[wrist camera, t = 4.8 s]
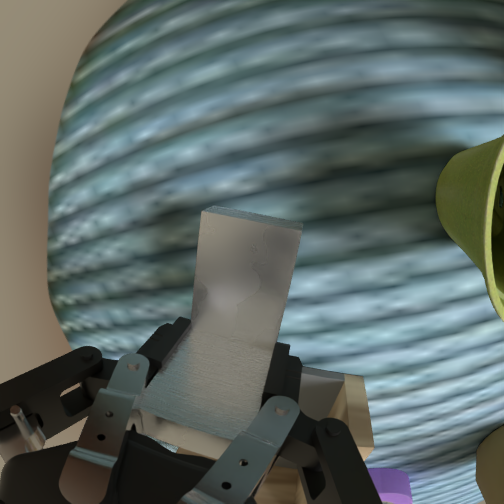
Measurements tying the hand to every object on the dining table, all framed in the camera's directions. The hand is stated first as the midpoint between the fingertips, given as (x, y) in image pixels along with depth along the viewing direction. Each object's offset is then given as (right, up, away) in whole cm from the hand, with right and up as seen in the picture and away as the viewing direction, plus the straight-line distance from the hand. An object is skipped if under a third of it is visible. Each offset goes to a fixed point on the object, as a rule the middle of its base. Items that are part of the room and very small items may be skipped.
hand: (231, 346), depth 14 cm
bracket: (+1, +3, 0) cm, 3 cm away
